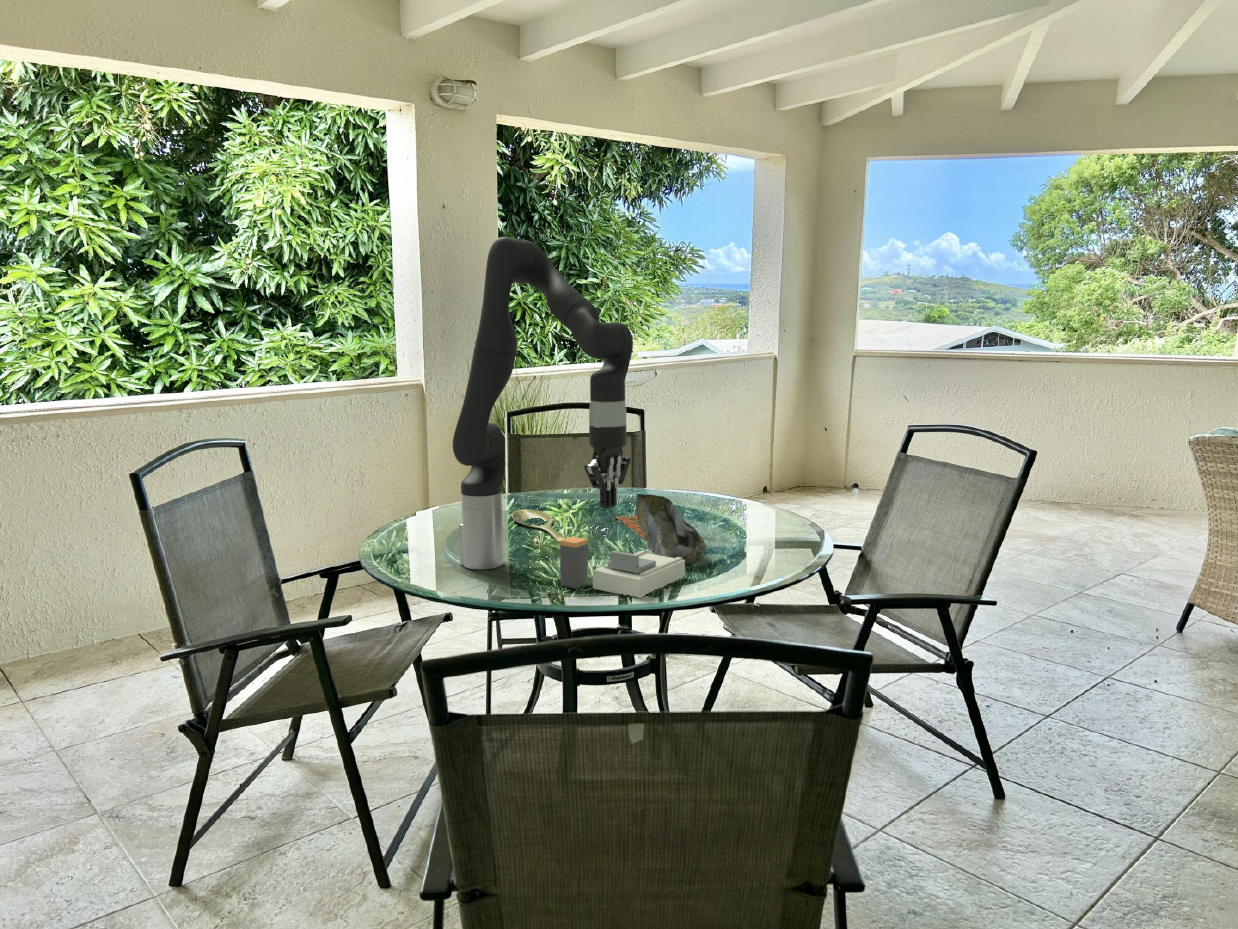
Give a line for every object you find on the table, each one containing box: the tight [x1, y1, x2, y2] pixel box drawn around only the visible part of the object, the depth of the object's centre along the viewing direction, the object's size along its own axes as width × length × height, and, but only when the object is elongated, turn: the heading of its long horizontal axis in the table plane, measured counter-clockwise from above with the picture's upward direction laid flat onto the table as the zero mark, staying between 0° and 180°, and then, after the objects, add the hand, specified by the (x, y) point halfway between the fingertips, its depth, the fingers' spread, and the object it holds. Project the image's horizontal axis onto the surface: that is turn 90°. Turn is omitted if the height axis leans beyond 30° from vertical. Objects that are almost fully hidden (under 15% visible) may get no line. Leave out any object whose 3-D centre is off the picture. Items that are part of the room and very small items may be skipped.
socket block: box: [592, 550, 686, 598], centre depth 198 cm, size 12×18×4 cm, turn 145°
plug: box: [559, 536, 589, 590], centre depth 196 cm, size 4×4×10 cm
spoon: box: [511, 508, 567, 543], centre depth 247 cm, size 35×11×2 cm, turn 25°
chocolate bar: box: [615, 514, 703, 541], centre depth 247 cm, size 14×30×1 cm, turn 19°
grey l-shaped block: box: [607, 550, 656, 574], centre depth 195 cm, size 8×7×4 cm
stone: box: [635, 493, 708, 565], centre depth 223 cm, size 17×10×30 cm
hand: (608, 506), depth 186 cm, fingers closed
